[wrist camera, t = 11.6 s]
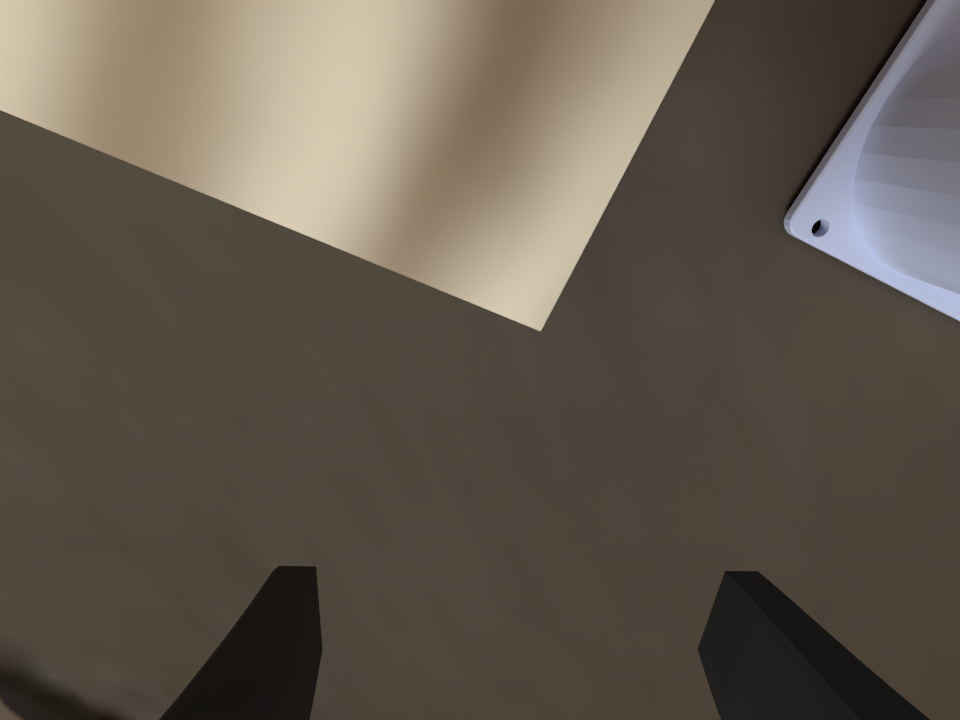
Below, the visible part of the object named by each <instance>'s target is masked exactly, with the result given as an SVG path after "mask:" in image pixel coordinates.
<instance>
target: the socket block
mask: <svg viewBox="0 0 960 720" xmlns="http://www.w3.org/2000/svg"><path fill="white" fill-rule="evenodd" d="M714 1H715V0H0V110H1V111H4V112H6V113H9V114H11V115H14V116H16V117H19V118H21V119H23V120H26V121H28V122H31V123H33V124H36V125H38V126H41V127H43V128H45V129H48V130H50V131H53V132H55V133H58V134H60V135H63V136H65V137H67V138H70V139H72V140H75V141H77V142H80V143H82V144H84V145H87V146H89V147H92V148H94V149H97V150H99V151H102V152H104V153H106V154H109V155H111V156H114V157H116V158H119V159H121V160H124V161H126V162H128V163H131V164H133V165H136V166H138V167H141V168H143V169H146V170H148V171H150V172H153V173H155V174H158V175H160V176H163V177H165V178H167V179H170V180H172V181H175V182H177V183H180V184H182V185H185V186H187V187H189V188H192V189H194V190H197V191H199V192H202V193H204V194H207V195H209V196H211V197H214V198H216V199H219V200H221V201H224V202H226V203H229V204H231V205H233V206H236V207H238V208H241V209H243V210H246V211H248V212H251V213H253V214H255V215H258V216H260V217H263V218H265V219H268V220H270V221H272V222H275V223H277V224H280V225H282V226H285V227H287V228H290V229H292V230H294V231H297V232H299V233H302V234H304V235H307V236H309V237H312V238H314V239H316V240H319V241H321V242H324V243H326V244H329V245H331V246H334V247H336V248H338V249H341V250H343V251H346V252H348V253H351V254H353V255H356V256H358V257H360V258H363V259H365V260H368V261H370V262H373V263H375V264H377V265H380V266H382V267H385V268H387V269H390V270H392V271H395V272H397V273H399V274H402V275H404V276H407V277H409V278H412V279H414V280H417V281H419V282H421V283H424V284H426V285H429V286H431V287H434V288H436V289H439V290H441V291H443V292H446V293H448V294H451V295H453V296H456V297H458V298H461V299H463V300H465V301H468V302H470V303H473V304H475V305H478V306H480V307H482V308H485V309H487V310H490V311H492V312H495V313H497V314H500V315H502V316H504V317H507V318H509V319H512V320H514V321H517V322H519V323H522V324H524V325H526V326H529V327H531V328H534V329H536V330H539V331H541V330H542V328H543V326H544V324H545V322H546V320H547V318H548V316H549V314H550V313H551V311H552V309H553V307H554V305H555V303H556V301H557V299H558V297H559V295H560V294H561V292H562V290H563V288H564V286H565V284H566V282H567V280H568V278H569V276H570V275H571V273H572V271H573V269H574V267H575V265H576V263H577V261H578V259H579V258H580V256H581V254H582V252H583V250H584V248H585V246H586V244H587V242H588V240H589V239H590V237H591V235H592V233H593V231H594V229H595V227H596V225H597V223H598V221H599V220H600V218H601V216H602V214H603V212H604V210H605V208H606V206H607V204H608V202H609V201H610V199H611V197H612V195H613V193H614V191H615V189H616V187H617V185H618V183H619V182H620V180H621V178H622V176H623V174H624V172H625V170H626V168H627V166H628V164H629V163H630V161H631V159H632V157H633V155H634V153H635V151H636V149H637V147H638V145H639V144H640V142H641V140H642V138H643V136H644V134H645V132H646V130H647V128H648V126H649V125H650V123H651V121H652V119H653V117H654V115H655V113H656V111H657V109H658V107H659V106H660V104H661V102H662V100H663V98H664V96H665V94H666V92H667V90H668V88H669V87H670V85H671V83H672V81H673V79H674V77H675V75H676V73H677V71H678V69H679V68H680V66H681V64H682V62H683V60H684V58H685V56H686V54H687V52H688V50H689V49H690V47H691V45H692V43H693V41H694V39H695V37H696V35H697V33H698V31H699V30H700V28H701V26H702V24H703V22H704V20H705V18H706V16H707V14H708V12H709V11H710V9H711V7H712V5H713V3H714Z"/></svg>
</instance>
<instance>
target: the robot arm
mask: <svg viewBox="0 0 960 720" xmlns="http://www.w3.org/2000/svg"><path fill="white" fill-rule="evenodd" d="M818 220H821V226H820V228H819V230H818V231H817V232H816V233H814V234H812V227H813V224H815V223H816V222H817V221H818ZM784 227H785V230H786V231H787V232H788V233H789V234H790V235H792V236H794V237H796V238H798V239H800V240H802V241H804V242H806V243H808V244H810V245H811V246H813V247H815V248H817V249H819V250H821V251H823V252H825V253H827V254H829V255H831V256H833V257H835V258H837V259H839V260H841V261H843V262H845V263H847V264H849V265H851V266H852V267H854V268H856V269H858V270H860V271H862V272H864V273H866V274H868V275H870V276H872V277H874V278H876V279H878V280H880V281H882V282H884V283H886V284H888V285H890V286H892V287H893V288H895V289H897V290H899V291H901V292H903V293H905V294H907V295H909V296H911V297H913V298H915V299H917V300H919V301H921V302H923V303H925V304H927V305H929V306H931V307H933V308H934V309H936V310H938V311H940V312H942V313H944V314H946V315H948V316H950V317H952V318H954V319H956V320H958V321H960V0H927V1H926V3H925V4H924V6H923V8H922V9H921V11H920V12H919V14H918V15H917V17H916V18H915V20H914V21H913V23H912V24H911V26H910V27H909V29H908V30H907V32H906V33H905V35H904V36H903V38H902V39H901V41H900V42H899V44H898V45H897V47H896V48H895V50H894V51H893V53H892V54H891V56H890V58H889V59H888V61H887V62H886V64H885V65H884V67H883V68H882V70H881V71H880V73H879V74H878V76H877V77H876V79H875V80H874V82H873V83H872V85H871V86H870V88H869V89H868V91H867V92H866V94H865V95H864V97H863V98H862V100H861V101H860V103H859V104H858V106H857V107H856V109H855V111H854V112H853V114H852V115H851V117H850V118H849V120H848V121H847V123H846V124H845V126H844V127H843V129H842V130H841V132H840V133H839V135H838V136H837V138H836V139H835V141H834V142H833V144H832V145H831V147H830V148H829V150H828V151H827V153H826V154H825V156H824V157H823V159H822V161H821V162H820V164H819V165H818V167H817V168H816V170H815V171H814V173H813V174H812V176H811V177H810V179H809V180H808V182H807V183H806V185H805V186H804V188H803V189H802V191H801V192H800V194H799V195H798V197H797V198H796V200H795V201H794V203H793V204H792V206H791V207H790V209H789V210H788V212H787V214H786V216H785V218H784ZM698 652H699V655H700V658H701V661H702V665H703V668H704V671H705V674H706V677H707V681H708V684H709V687H710V690H711V692H712V695H713V698H714V701H715V704H716V707H717V710H718V713H719V715H720V717H721V720H930V719H928V718H927V717H926V716H925V715H923V714H922V713H921V712H920V711H919V710H917V709H916V708H915V707H914V706H913V705H911V704H910V703H909V702H908V701H907V700H905V699H904V698H903V697H902V696H901V695H899V694H898V693H897V692H896V691H895V690H894V689H892V688H891V687H890V686H889V685H888V684H887V683H885V682H884V681H883V680H882V679H881V678H879V677H878V676H877V675H876V674H875V673H874V672H873V671H871V670H870V669H869V668H868V667H867V666H866V665H864V664H863V663H862V662H861V661H860V660H859V659H857V658H856V657H855V656H854V655H853V654H852V653H851V652H849V651H848V650H847V649H846V648H845V647H844V646H843V645H841V644H840V643H839V642H838V641H837V640H836V639H835V638H834V637H832V636H831V635H830V634H829V633H828V632H827V631H826V630H825V629H823V628H822V627H821V626H820V625H819V624H818V623H817V622H815V621H814V620H813V619H812V618H811V617H810V616H809V615H808V614H806V613H805V612H804V611H803V610H802V609H801V608H800V607H799V606H797V605H796V604H795V603H794V602H793V601H792V600H791V599H789V598H788V597H787V596H786V595H785V594H784V593H783V592H781V591H780V590H779V589H778V588H777V587H776V586H775V585H773V584H772V583H771V582H770V581H769V580H767V579H766V578H765V577H764V576H763V575H761V574H760V573H759V572H756V571H725V573H724V576H723V579H722V582H721V585H720V587H719V590H718V593H717V596H716V599H715V602H714V604H713V607H712V610H711V613H710V616H709V619H708V622H707V624H706V627H705V630H704V633H703V636H702V639H701V641H700V644H699V647H698ZM321 654H322V639H321V626H320V613H319V600H318V587H317V574H316V567H308V566H279V567H278V568H276V569H275V570H274V571H273V572H272V573H271V575H270V576H269V578H268V579H267V581H266V582H265V584H264V585H263V586H262V588H261V589H260V591H259V592H258V594H257V595H256V596H255V598H254V599H253V601H252V602H251V603H250V605H249V606H248V608H247V609H246V610H245V612H244V613H243V614H242V616H241V617H240V619H239V620H238V621H237V623H236V624H235V625H234V627H233V628H232V629H231V631H230V632H229V633H228V635H227V636H226V637H225V639H224V640H223V641H222V643H221V644H220V645H219V647H218V648H217V649H216V650H215V652H214V653H213V654H212V655H211V657H210V658H209V659H208V660H207V662H206V663H205V664H204V665H203V667H202V668H201V669H200V671H199V672H198V673H197V674H196V676H195V677H194V678H193V679H192V681H191V682H190V683H189V684H188V686H187V687H186V688H185V689H184V691H183V692H182V693H181V694H180V696H179V697H178V698H177V699H176V700H175V702H174V703H173V704H172V705H171V706H170V708H169V709H168V710H167V711H166V712H165V713H164V714H163V716H162V717H161V718H160V719H159V720H309V719H310V715H311V709H312V704H313V699H314V693H315V688H316V683H317V677H318V671H319V666H320V660H321Z"/></svg>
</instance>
